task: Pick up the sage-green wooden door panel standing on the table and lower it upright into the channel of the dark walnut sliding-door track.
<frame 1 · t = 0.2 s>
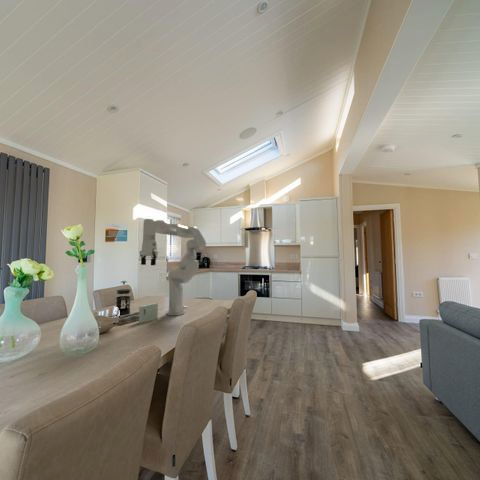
hand: (148, 265, 156), 36 cm above the table, tool pointing down, fingers open, 9 cm apart
door panel: (148, 320, 156), on the table
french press: (122, 314, 170), on the table
door track: (130, 320, 157), on the table
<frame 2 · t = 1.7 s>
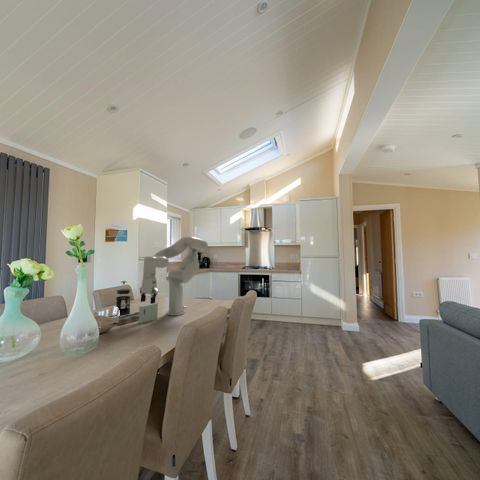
hand: (147, 302, 156), 12 cm above the table, tool pointing down, fingers open, 9 cm apart
nothing on the table moved.
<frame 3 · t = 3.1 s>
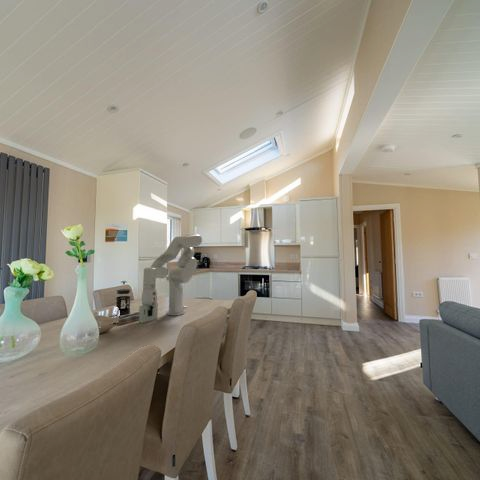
hand: (148, 315, 156), 3 cm above the table, tool pointing down, fingers closed on door panel, 2 cm apart
door panel: (148, 320, 156), on the table, touching gripper
everything else where it was.
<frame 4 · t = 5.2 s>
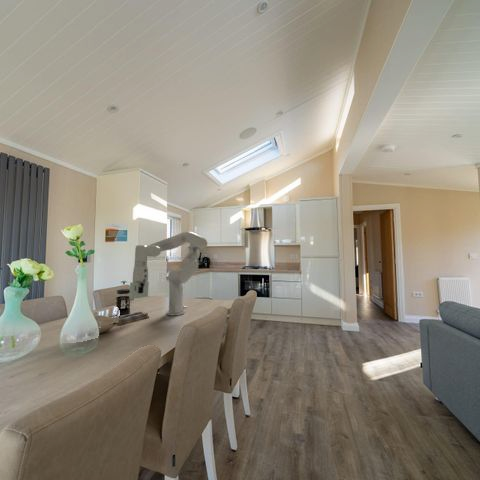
hand: (139, 292, 157), 18 cm above the table, tool pointing down, fingers closed on door panel, 2 cm apart
door panel: (138, 297, 156), point 14 cm above the table, touching gripper
everything else where it was.
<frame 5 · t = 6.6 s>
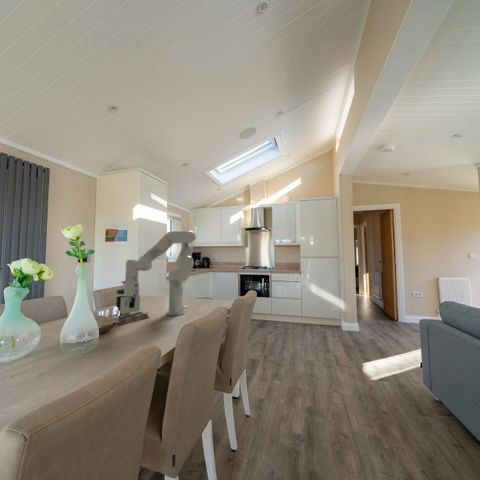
hand: (130, 307, 157), 8 cm above the table, tool pointing down, fingers closed on door panel, 2 cm apart
door panel: (130, 312, 156), point 5 cm above the table, touching gripper
everything else where it was.
when the fingers open (5 cm above the table, at t = 7.4 s): door panel stays where it is, resting on door track.
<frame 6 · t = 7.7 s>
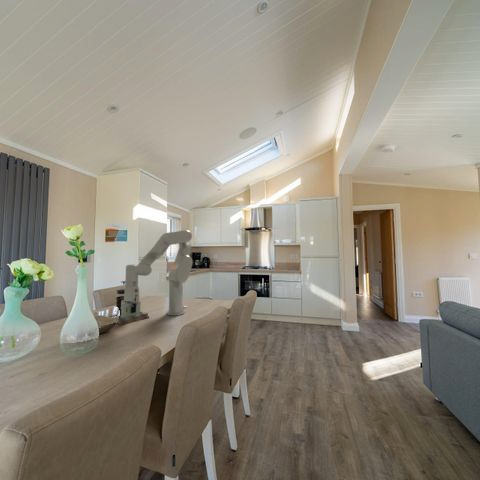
hand: (130, 311, 157), 5 cm above the table, tool pointing down, fingers open, 4 cm apart
door panel: (130, 318, 157), point 1 cm above the table, touching door track
everything else where it was.
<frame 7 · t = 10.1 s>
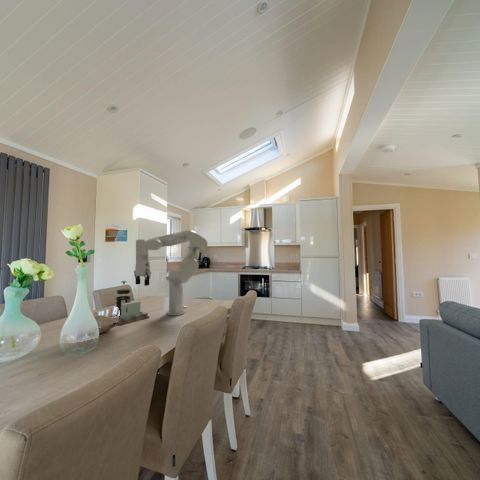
hand: (142, 284, 157), 23 cm above the table, tool pointing down, fingers open, 9 cm apart
nothing on the table moved.
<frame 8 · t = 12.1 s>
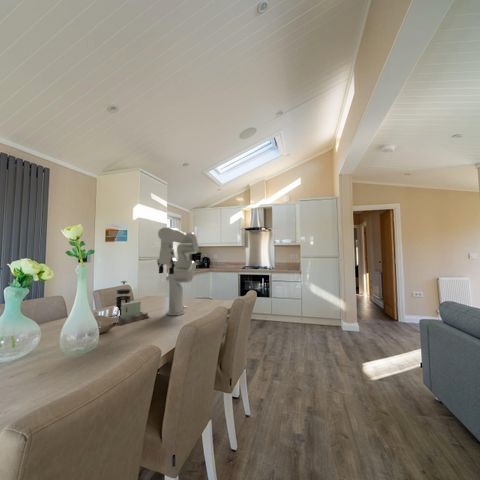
hand: (166, 273, 155), 30 cm above the table, tool pointing down, fingers open, 9 cm apart
nothing on the table moved.
at the end: door panel inside the target area on the door track (0.2 cm from its centre), point 1.0 cm above the door track's base; door panel tilted 0°; the gripper is holding nothing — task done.
